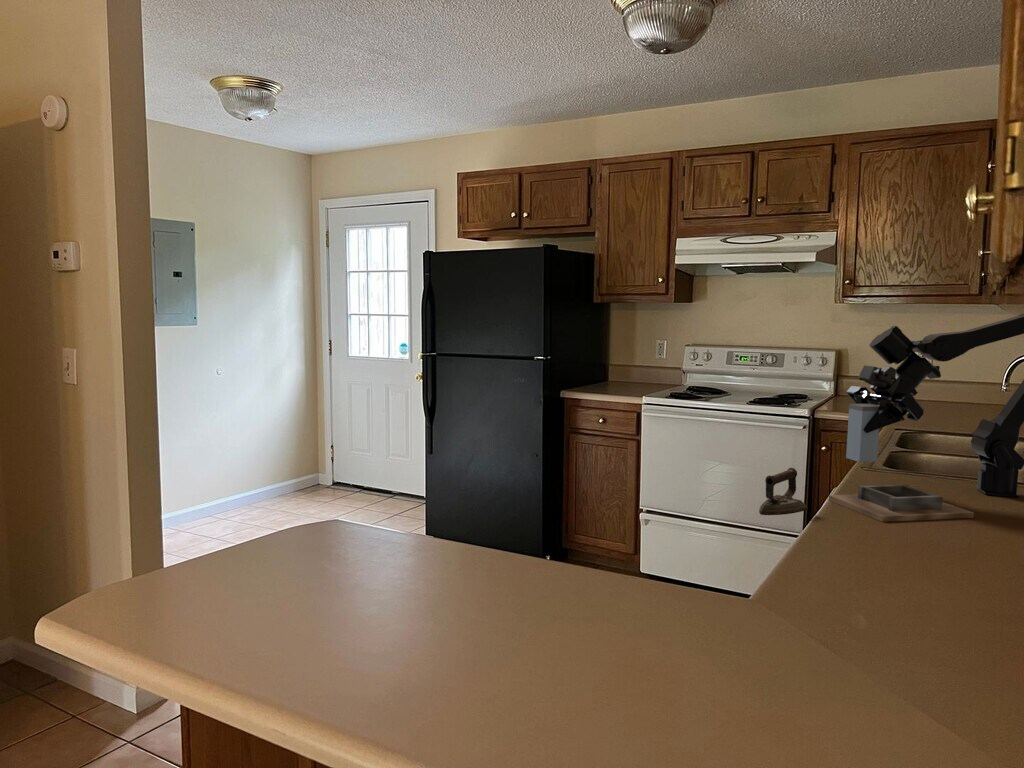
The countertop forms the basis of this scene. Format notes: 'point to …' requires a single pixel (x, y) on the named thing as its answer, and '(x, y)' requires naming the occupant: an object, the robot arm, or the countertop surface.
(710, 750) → the countertop surface
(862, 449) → the block
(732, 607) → the countertop surface
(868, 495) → the jig cradle
